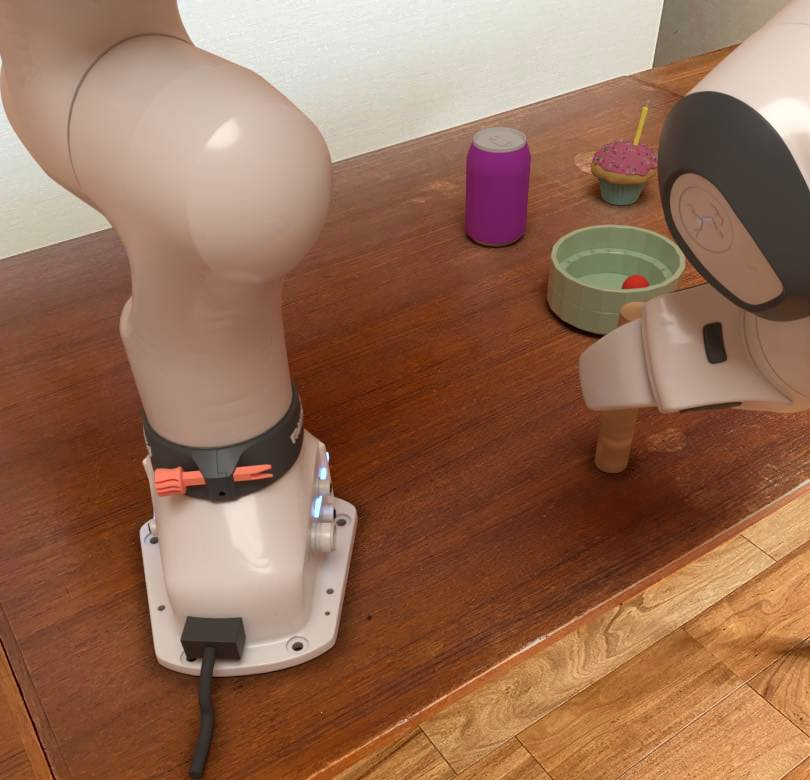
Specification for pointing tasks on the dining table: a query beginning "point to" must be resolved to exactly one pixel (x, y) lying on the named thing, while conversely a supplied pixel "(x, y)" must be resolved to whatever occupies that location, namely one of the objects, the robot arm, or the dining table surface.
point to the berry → (635, 282)
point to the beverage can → (497, 186)
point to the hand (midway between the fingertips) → (687, 373)
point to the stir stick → (617, 418)
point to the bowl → (609, 273)
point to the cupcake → (624, 167)
